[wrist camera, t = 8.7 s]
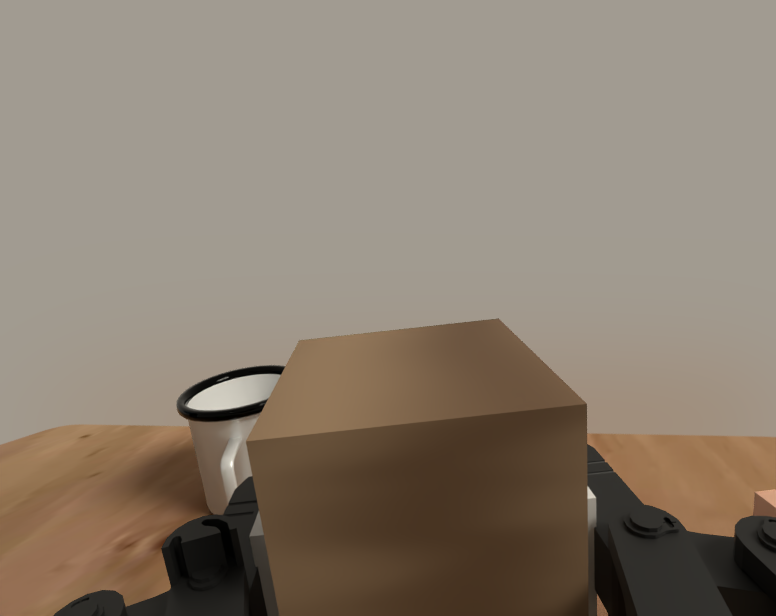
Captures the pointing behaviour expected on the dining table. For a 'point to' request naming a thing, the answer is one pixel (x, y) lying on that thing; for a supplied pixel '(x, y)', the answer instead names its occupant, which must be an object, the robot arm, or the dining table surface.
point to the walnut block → (423, 477)
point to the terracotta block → (765, 503)
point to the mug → (226, 426)
